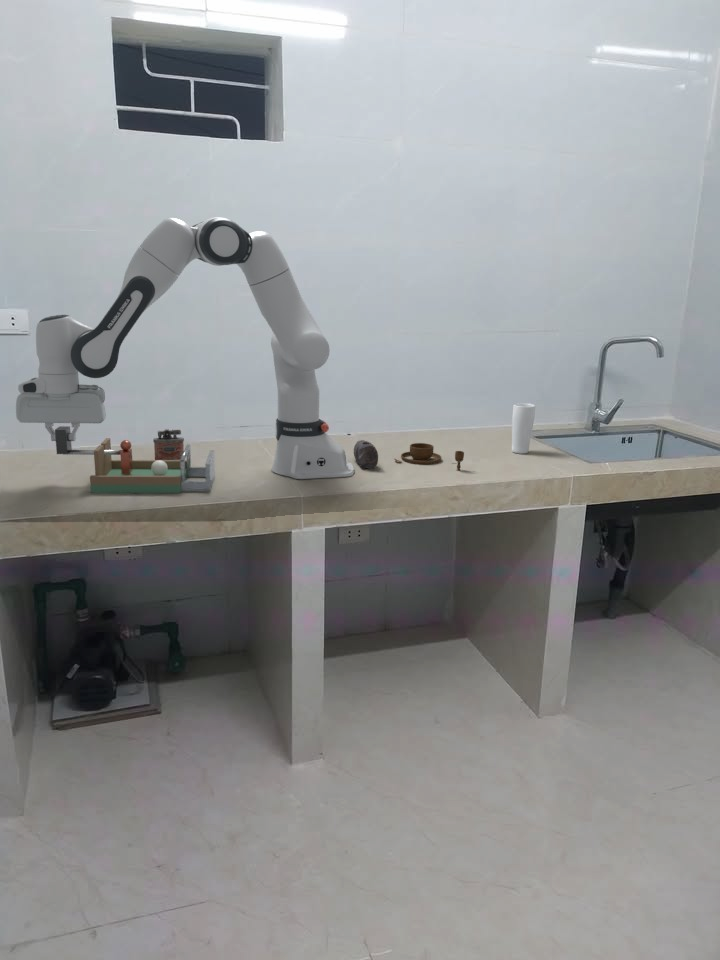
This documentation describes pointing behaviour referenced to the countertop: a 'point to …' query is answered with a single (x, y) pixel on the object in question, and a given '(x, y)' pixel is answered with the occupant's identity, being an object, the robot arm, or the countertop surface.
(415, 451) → the place setting
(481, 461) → the countertop surface
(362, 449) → the perforated stone tool
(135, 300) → the robot arm
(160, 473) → the ball
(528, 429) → the drinking glass
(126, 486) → the pitch
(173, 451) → the lighter
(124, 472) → the rod
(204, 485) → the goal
